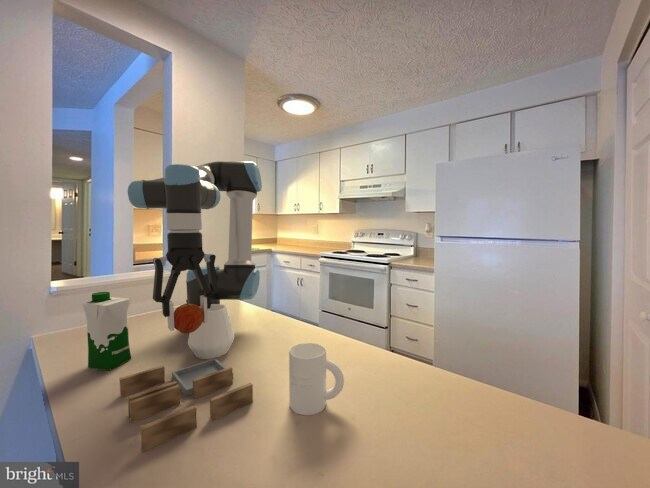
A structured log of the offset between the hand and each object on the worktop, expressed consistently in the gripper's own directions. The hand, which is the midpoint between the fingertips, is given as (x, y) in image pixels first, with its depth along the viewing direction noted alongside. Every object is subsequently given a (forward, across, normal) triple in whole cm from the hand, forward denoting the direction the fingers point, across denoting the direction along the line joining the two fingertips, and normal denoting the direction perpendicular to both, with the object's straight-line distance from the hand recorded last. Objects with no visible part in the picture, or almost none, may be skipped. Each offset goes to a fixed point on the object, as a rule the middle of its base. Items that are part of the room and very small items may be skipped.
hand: (188, 325), depth 71 cm
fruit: (+2, 0, 0) cm, 2 cm away
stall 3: (+14, -3, +12) cm, 19 cm away
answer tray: (+15, -3, 0) cm, 15 cm away
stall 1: (+14, +9, +1) cm, 17 cm away
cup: (+15, -10, -14) cm, 23 cm away
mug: (+15, -18, +28) cm, 36 cm away
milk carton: (+15, +14, -25) cm, 32 cm away
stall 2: (+14, +9, +13) cm, 21 cm away
